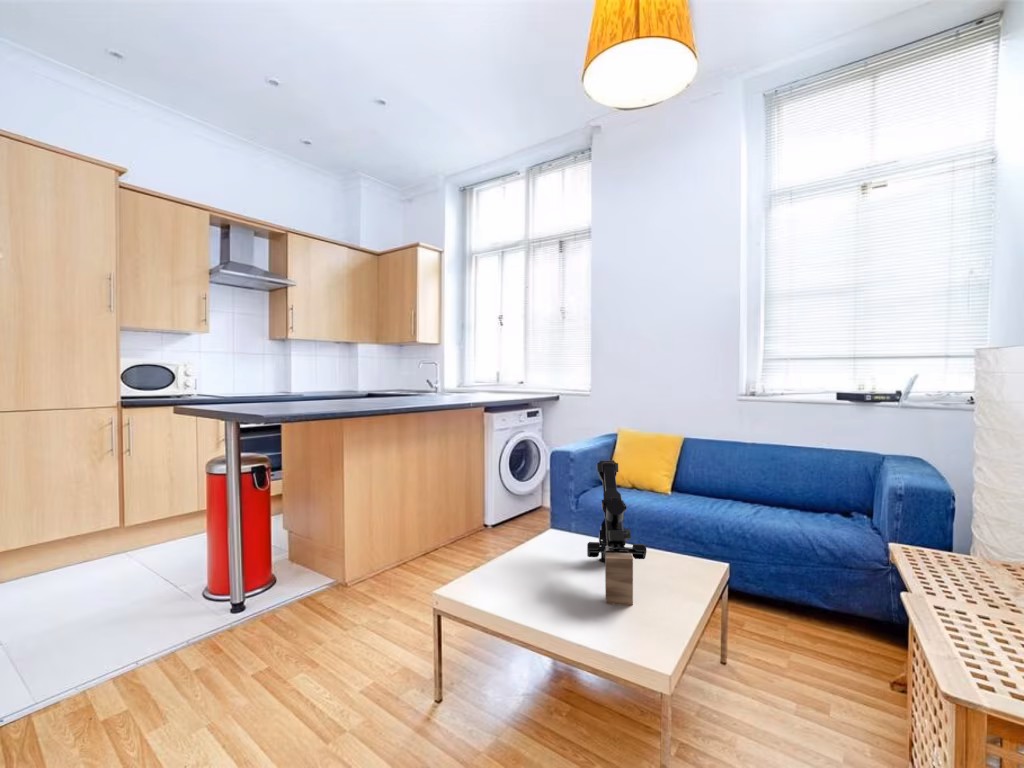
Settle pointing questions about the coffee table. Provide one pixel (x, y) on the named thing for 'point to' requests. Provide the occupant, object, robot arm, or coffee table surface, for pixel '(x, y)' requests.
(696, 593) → the coffee table surface
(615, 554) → the walnut card box
